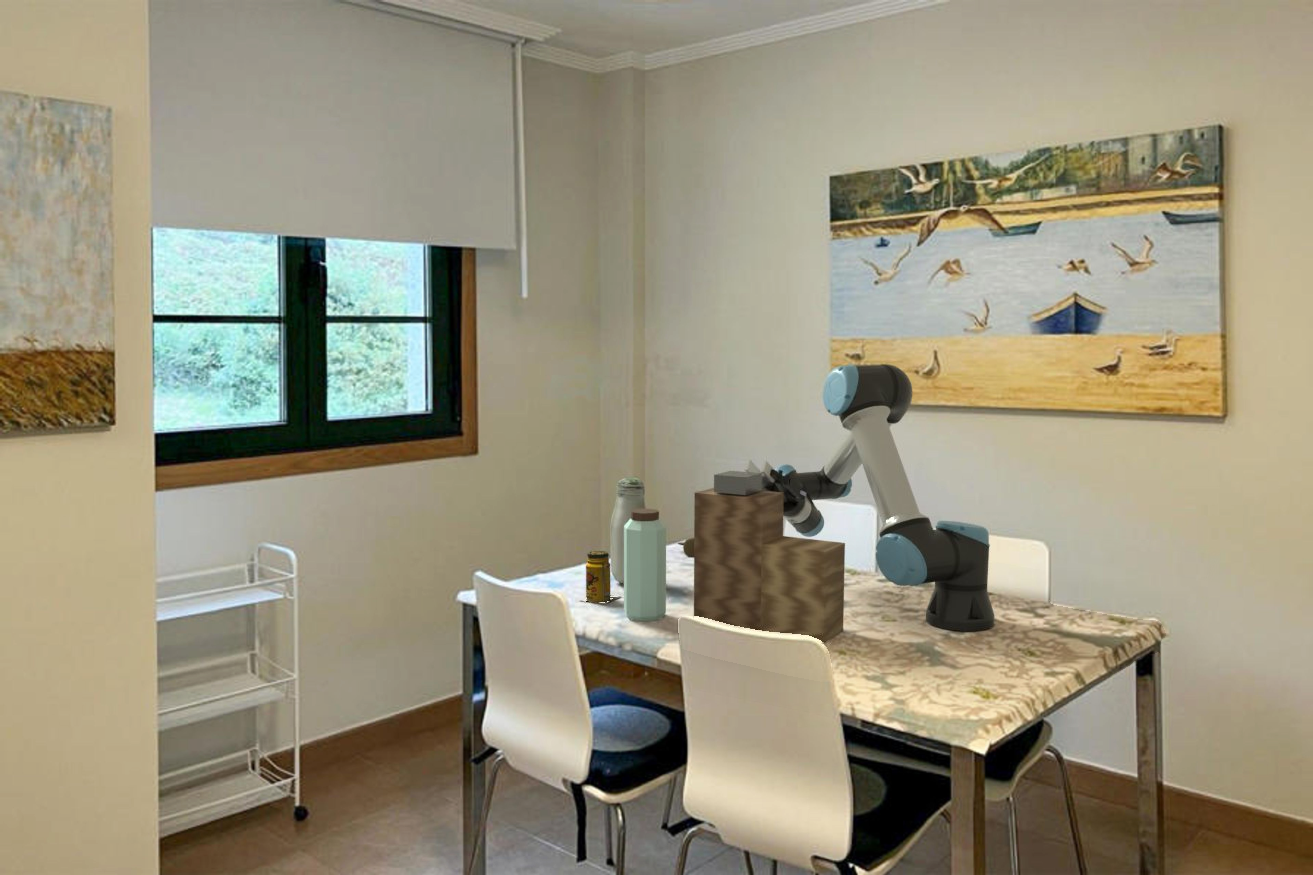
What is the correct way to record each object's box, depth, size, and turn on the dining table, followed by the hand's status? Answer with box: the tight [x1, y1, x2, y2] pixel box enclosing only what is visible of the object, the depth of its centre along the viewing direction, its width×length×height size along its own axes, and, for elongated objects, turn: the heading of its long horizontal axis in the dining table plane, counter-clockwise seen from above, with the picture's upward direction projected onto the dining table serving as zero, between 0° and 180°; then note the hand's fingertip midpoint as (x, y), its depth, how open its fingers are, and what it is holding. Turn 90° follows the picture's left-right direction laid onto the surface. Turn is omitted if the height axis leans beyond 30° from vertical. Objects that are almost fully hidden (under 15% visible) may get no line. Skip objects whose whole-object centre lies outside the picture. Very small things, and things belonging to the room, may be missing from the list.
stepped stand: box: [693, 487, 846, 644], centre depth 246 cm, size 32×11×30 cm, turn 59°
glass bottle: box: [609, 477, 647, 584], centre depth 287 cm, size 10×10×28 cm
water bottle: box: [623, 508, 667, 622], centre depth 254 cm, size 10×10×25 cm
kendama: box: [677, 537, 694, 558], centre depth 323 cm, size 6×10×20 cm
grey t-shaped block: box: [713, 470, 775, 495], centre depth 253 cm, size 8×21×4 cm, turn 148°
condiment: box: [580, 550, 622, 605], centre depth 271 cm, size 7×8×12 cm
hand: (755, 465), depth 255 cm, fingers closed on grey t-shaped block, 3 cm apart
